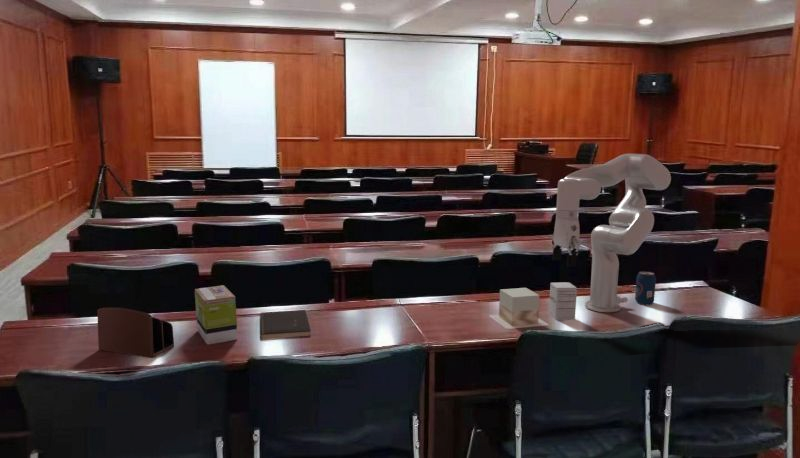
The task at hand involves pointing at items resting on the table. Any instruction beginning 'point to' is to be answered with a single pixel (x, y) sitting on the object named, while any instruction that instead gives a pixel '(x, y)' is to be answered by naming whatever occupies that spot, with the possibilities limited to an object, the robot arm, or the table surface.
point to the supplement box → (562, 301)
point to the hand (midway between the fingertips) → (564, 263)
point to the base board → (508, 326)
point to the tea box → (216, 314)
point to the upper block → (519, 299)
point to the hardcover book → (284, 324)
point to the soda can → (645, 287)
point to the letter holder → (133, 332)
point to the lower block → (518, 316)
